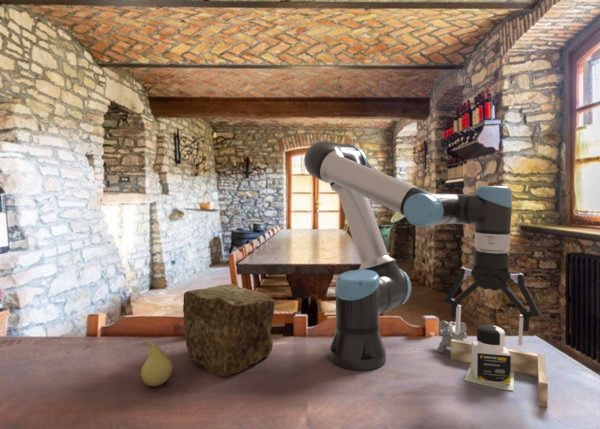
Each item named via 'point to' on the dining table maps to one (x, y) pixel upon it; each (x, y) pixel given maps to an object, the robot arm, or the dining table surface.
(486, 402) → the dining table surface
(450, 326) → the elephant statuette
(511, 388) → the pad
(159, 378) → the fruit
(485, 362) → the medicine bottle
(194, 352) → the decorative stone
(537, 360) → the corner arena
